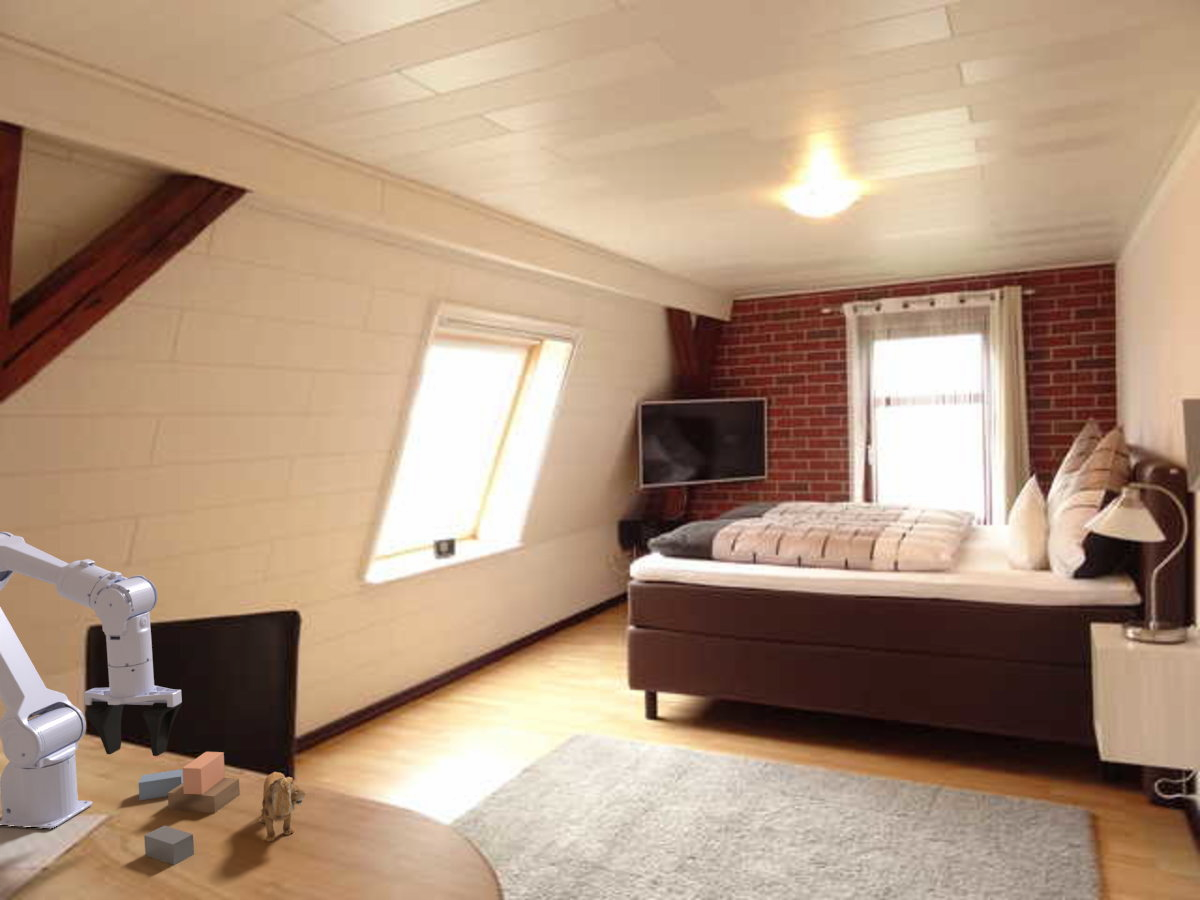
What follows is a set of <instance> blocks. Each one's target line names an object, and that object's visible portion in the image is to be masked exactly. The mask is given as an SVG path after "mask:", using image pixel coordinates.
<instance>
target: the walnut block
mask: <svg viewBox="0 0 1200 900" xmlns="http://www.w3.org/2000/svg"><path fill="white" fill-rule="evenodd" d="M240 788H241V787H240V778H234V777H233V778H232V777H224V778H223V779H222V780H220V781H219V782H218V783H217V784H215V785H214V786H213V787H211V788H210V789H209V790H207V791H206V792H205V793H204V794H202V795H199V794H184V791H183V783H182V784H180V785H179V786H177V787H176V788H174V789H173V790H171V791H170V792H168V796H167V804H168V808H167V809H168V810H172V811H184V812H185V811H186V812H198V813H199V812H201V813H208V814H209V813H211V814H216V813H218V812H219V811H220V810H221V809H222V808H224V807H226V806H227V805H229V803H231V802H232V801H234V800H235V799H236V798H237V797H239V796H240V795H241V791H240Z"/></svg>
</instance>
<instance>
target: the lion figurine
mask: <svg viewBox="0 0 1200 900" xmlns="http://www.w3.org/2000/svg"><path fill="white" fill-rule="evenodd" d="M306 794H307V791H306V790H304V789H301V788H300V787H299V785H297V784H295V783H294V780H293V777H290V776H287V777H285V774H284V773H282V772H277V771H274V772H272V773H270V774H269V775H267V777H266V778H265V780H264V783H263V795H262V796H263V798H262V803H261V804H262V810H263V816H262V817H261V818H260V823H262V824H265V828H266V833H267V834H266V837H265V841H266V842H273V841H275V839H276V837H275V836H276V833H275V830H274V822H283V826H282V831H283V832H284V835H285V836H290V834H291V833H292V834H293V833H295V829H294V828H291V819H292V812H294V811H295V806H296V805H297V806H301V805H302V803H303V800H304V798H305V796H306ZM292 834H291V835H292Z"/></svg>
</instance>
